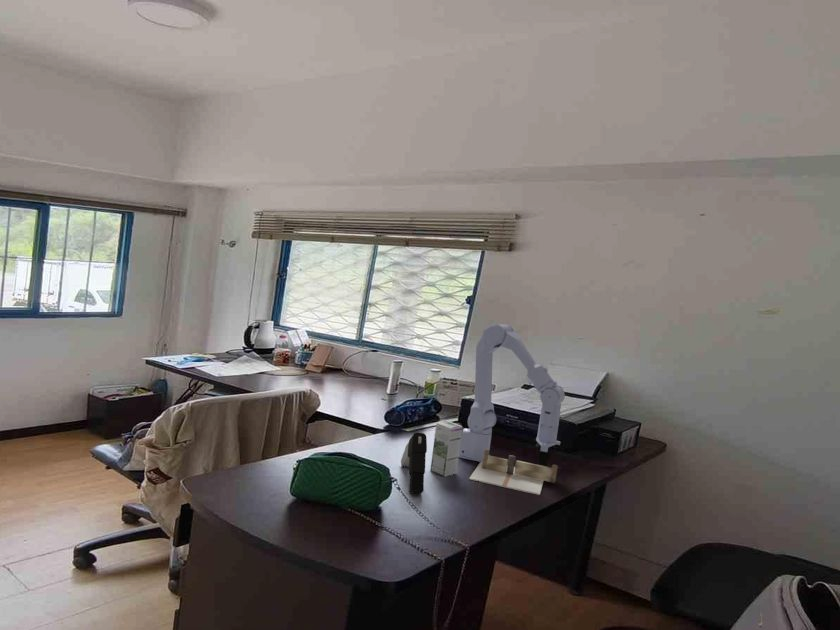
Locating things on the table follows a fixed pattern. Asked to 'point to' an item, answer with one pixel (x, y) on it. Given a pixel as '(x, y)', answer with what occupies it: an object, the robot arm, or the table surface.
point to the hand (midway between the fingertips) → (542, 469)
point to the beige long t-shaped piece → (536, 471)
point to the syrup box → (446, 448)
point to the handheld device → (415, 461)
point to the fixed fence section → (498, 463)
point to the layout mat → (507, 480)
